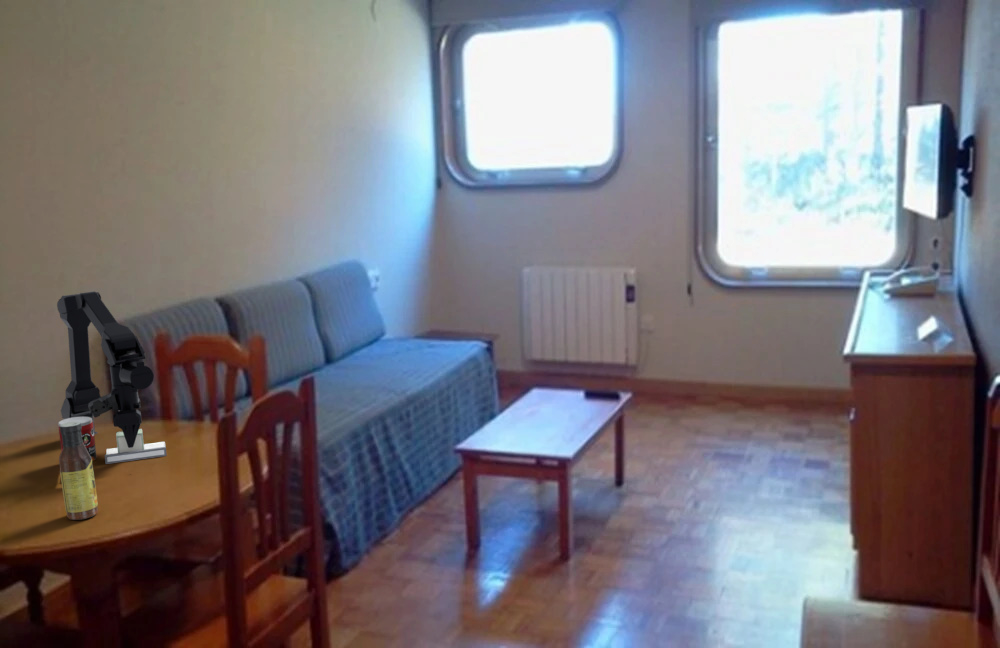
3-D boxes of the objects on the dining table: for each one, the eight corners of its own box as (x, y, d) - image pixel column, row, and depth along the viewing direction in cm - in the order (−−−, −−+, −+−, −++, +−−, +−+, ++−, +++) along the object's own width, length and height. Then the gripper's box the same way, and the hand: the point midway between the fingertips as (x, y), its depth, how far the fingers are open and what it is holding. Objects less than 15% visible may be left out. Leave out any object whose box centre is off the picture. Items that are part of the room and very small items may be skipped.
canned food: (73, 471, 224) (68, 426, 222) (56, 465, 229) (51, 422, 227) (103, 462, 230) (98, 419, 228) (86, 456, 235) (81, 414, 233)
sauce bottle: (104, 514, 195) (93, 423, 192) (74, 524, 190) (63, 430, 187) (89, 507, 199) (79, 418, 196) (60, 516, 195) (49, 424, 191)
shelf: (107, 452, 238) (105, 441, 237) (165, 445, 243) (163, 434, 242) (105, 467, 226) (104, 456, 225) (167, 459, 231) (165, 447, 230)
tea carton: (118, 455, 232) (116, 432, 231) (144, 451, 234) (142, 428, 233) (118, 460, 228) (116, 436, 227) (144, 456, 230) (142, 433, 229)
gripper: (89, 378, 233) (96, 438, 236) (87, 395, 216) (94, 460, 219) (137, 373, 237) (143, 432, 240) (138, 390, 220) (144, 453, 223)
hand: (130, 444), depth 231 cm, fingers open, 5 cm apart
